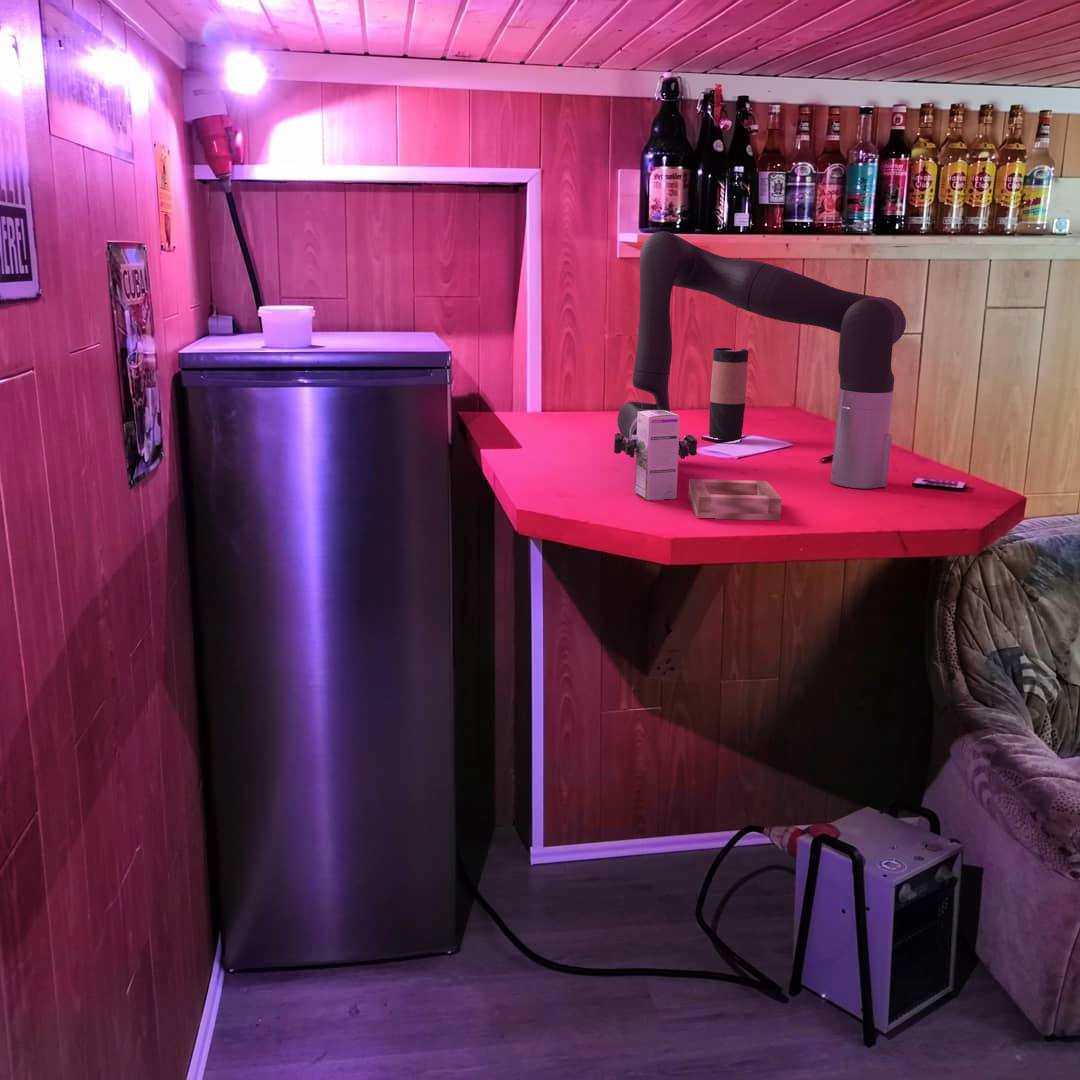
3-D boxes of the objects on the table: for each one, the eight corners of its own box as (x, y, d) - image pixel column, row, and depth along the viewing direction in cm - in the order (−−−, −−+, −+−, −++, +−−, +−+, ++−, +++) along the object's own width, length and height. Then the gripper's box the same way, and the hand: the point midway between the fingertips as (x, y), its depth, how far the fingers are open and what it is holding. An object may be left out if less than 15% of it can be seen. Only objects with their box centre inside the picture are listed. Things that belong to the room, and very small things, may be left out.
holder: (765, 501, 178) (766, 480, 177) (780, 520, 166) (781, 498, 165) (688, 499, 178) (689, 479, 177) (697, 518, 166) (698, 496, 165)
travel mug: (716, 444, 229) (722, 351, 224) (702, 438, 236) (707, 347, 231) (748, 443, 231) (755, 351, 226) (733, 437, 238) (739, 347, 233)
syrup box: (677, 499, 178) (682, 414, 174) (645, 501, 177) (649, 415, 173) (664, 492, 183) (668, 409, 180) (632, 493, 182) (636, 410, 178)
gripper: (612, 414, 191) (616, 429, 175) (691, 415, 191) (701, 431, 175) (610, 454, 193) (614, 473, 177) (688, 456, 193) (699, 475, 177)
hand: (657, 452), depth 176 cm, fingers open, 8 cm apart
